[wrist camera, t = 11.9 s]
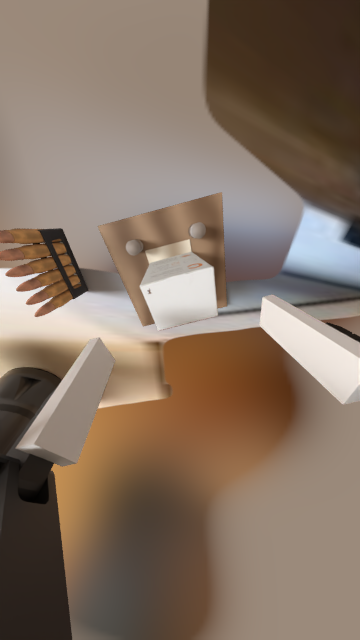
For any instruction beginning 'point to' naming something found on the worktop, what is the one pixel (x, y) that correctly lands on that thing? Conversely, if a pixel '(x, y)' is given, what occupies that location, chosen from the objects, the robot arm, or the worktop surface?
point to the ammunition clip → (44, 266)
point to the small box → (180, 290)
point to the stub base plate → (167, 244)
